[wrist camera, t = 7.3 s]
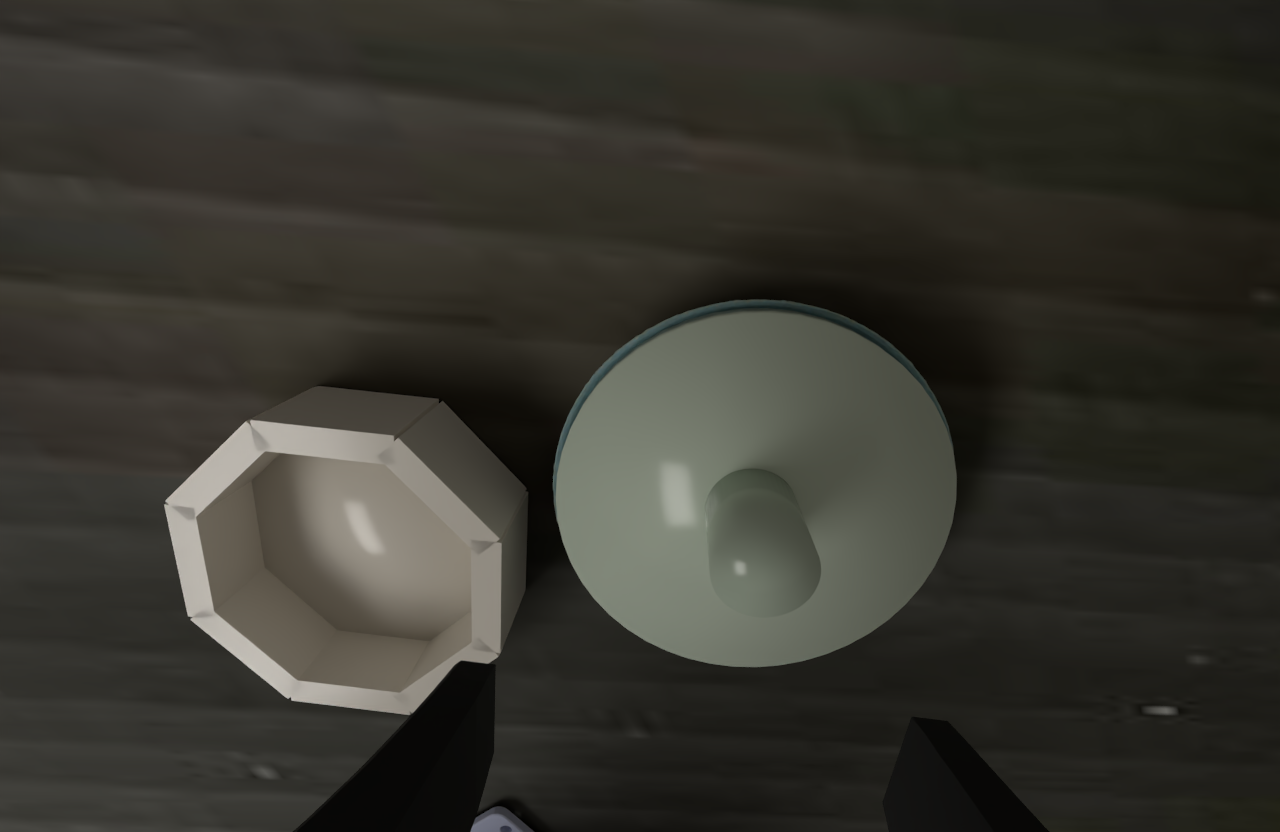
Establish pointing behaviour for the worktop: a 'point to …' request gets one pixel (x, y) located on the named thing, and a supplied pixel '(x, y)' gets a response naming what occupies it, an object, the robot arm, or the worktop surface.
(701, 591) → the lid
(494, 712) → the robot arm
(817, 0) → the worktop surface
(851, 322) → the saucer
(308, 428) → the bowl
